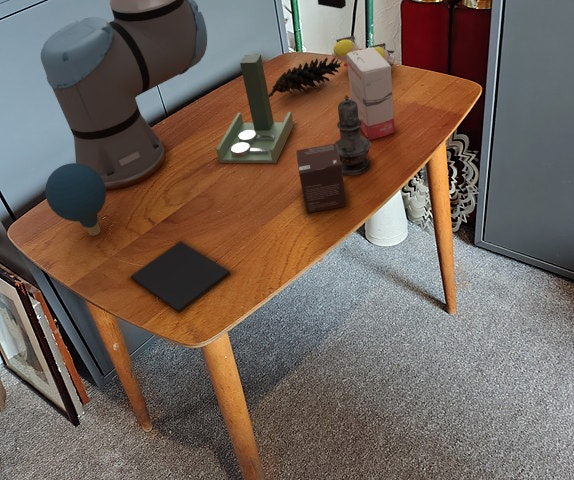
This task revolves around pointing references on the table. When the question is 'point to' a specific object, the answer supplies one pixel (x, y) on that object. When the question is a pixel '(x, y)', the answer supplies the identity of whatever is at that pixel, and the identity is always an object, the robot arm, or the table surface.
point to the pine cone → (305, 76)
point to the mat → (180, 276)
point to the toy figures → (349, 45)
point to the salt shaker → (351, 140)
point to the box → (321, 178)
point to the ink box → (371, 91)
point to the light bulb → (77, 195)
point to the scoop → (256, 119)
